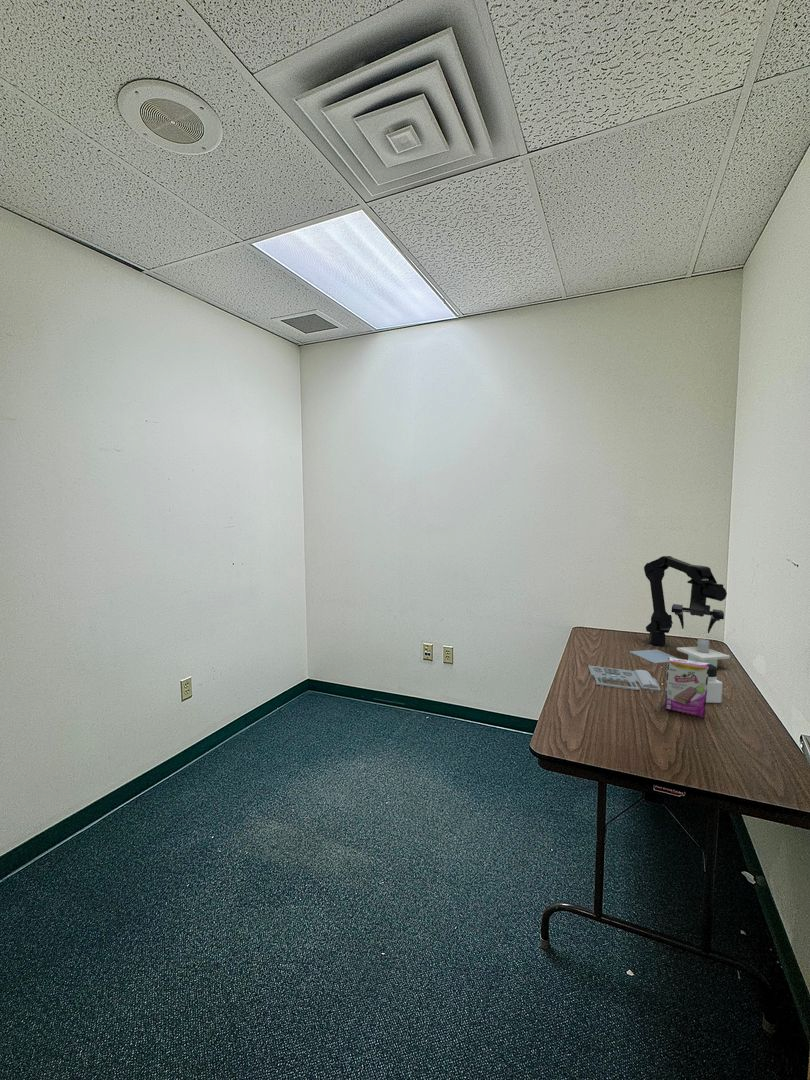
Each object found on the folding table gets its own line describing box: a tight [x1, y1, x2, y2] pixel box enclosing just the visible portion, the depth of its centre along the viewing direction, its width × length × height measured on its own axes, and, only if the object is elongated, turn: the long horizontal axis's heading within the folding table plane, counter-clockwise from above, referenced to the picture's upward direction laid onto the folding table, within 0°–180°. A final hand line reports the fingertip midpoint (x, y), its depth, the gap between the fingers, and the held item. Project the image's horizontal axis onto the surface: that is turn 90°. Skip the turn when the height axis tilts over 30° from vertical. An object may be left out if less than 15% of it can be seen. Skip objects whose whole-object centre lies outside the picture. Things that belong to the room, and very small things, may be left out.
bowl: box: [687, 654, 719, 669], centre depth 185 cm, size 10×10×5 cm
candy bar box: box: [664, 657, 709, 719], centre depth 143 cm, size 11×5×16 cm, turn 59°
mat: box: [628, 649, 680, 664], centre depth 196 cm, size 15×15×1 cm
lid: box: [676, 638, 731, 660], centre depth 185 cm, size 13×13×6 cm
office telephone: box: [588, 664, 661, 692], centre depth 170 cm, size 23×3×20 cm
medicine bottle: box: [706, 663, 724, 704], centre depth 153 cm, size 7×7×12 cm
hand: (695, 630), depth 193 cm, fingers open, 9 cm apart
